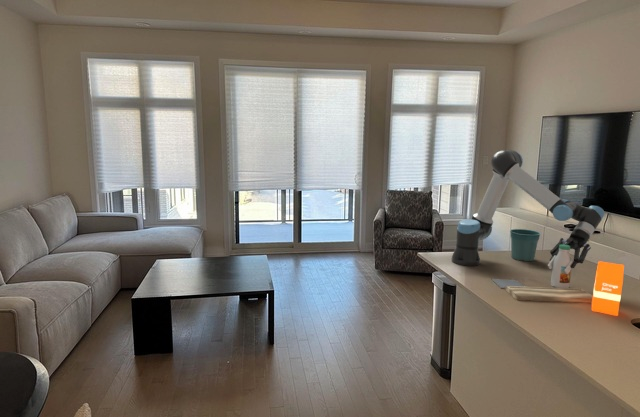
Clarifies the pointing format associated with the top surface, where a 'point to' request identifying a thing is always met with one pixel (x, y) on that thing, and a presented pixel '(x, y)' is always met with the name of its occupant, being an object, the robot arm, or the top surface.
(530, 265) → the top surface
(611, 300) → the orange juice
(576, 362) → the top surface
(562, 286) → the milk bottle
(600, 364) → the top surface
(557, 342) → the top surface
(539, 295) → the oak board
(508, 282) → the plate
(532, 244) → the flower pot
